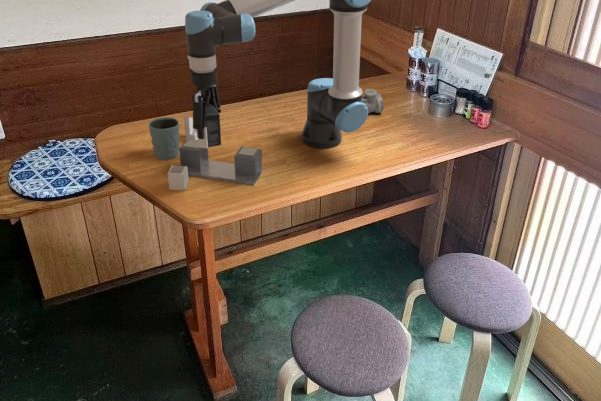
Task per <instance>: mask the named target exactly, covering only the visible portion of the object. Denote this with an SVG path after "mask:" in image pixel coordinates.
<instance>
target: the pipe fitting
mask: <svg viewBox="0 0 601 401" xmlns="http://www.w3.org/2000/svg"><path fill="white" fill-rule="evenodd" d="M363 94H364V96H363V97H362V102H363V103H364V104H365V105H366V106H367V108H368V114H369V113H375V114H379V113H383V111H384V108H385V104H384V99H383V97H382V96H381V94H380V93H377V90H376V89H373V88H367V89H365V90H364V92H363Z"/></svg>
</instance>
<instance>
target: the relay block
mask: <svg viewBox="0 0 601 401" xmlns="http://www.w3.org/2000/svg"><path fill="white" fill-rule="evenodd" d="M167 179H168V188H169V191H170V190H171V191H186V189H187V187H188V185H189V182H190V181H189V180H190V179H189V175H188V169H187V166H181V165H171V166H170V168H169V170H168V172H167Z"/></svg>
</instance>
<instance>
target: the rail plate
mask: <svg viewBox="0 0 601 401" xmlns="http://www.w3.org/2000/svg"><path fill="white" fill-rule="evenodd" d="M233 160H234V163H230V162H224V161H216V160H210V159H209V149H208V148H200V147H199V146H198V140H193V139H187V140H186V139H185V141H184V142H183V143H182V144H181V145H180V146H179V161H180V166H187V169H188V177H195V178H196V177H197V178H203V179H209V180H217V181H223V182H230V183H236V184H244V185H251V186H256V183H257V182H258V180H259V179H260V177H261V175H262V173H263V172H264V168H263V149H262V148H259V147H257V148H256V147H249V146H242V145H241V146H240V147H239V149H238V150H237V152H236V153H234V158H233Z"/></svg>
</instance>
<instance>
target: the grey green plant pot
mask: <svg viewBox="0 0 601 401" xmlns="http://www.w3.org/2000/svg"><path fill="white" fill-rule="evenodd" d="M148 128H149V129H148V130H149V133H150V137H151V143H152V146H153V147H152V148H153V153H154V154H153V155H154V157H155V158H156V159H158V160H161V161H168V160H174V159H176V158H177V157H178V156H180V153H179V147H180V146H179V144H180V121H179V120H178V119H176V118H173V117H167V116H166V117H158V118H154V119H152V120H150V121H149V122H148Z"/></svg>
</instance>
